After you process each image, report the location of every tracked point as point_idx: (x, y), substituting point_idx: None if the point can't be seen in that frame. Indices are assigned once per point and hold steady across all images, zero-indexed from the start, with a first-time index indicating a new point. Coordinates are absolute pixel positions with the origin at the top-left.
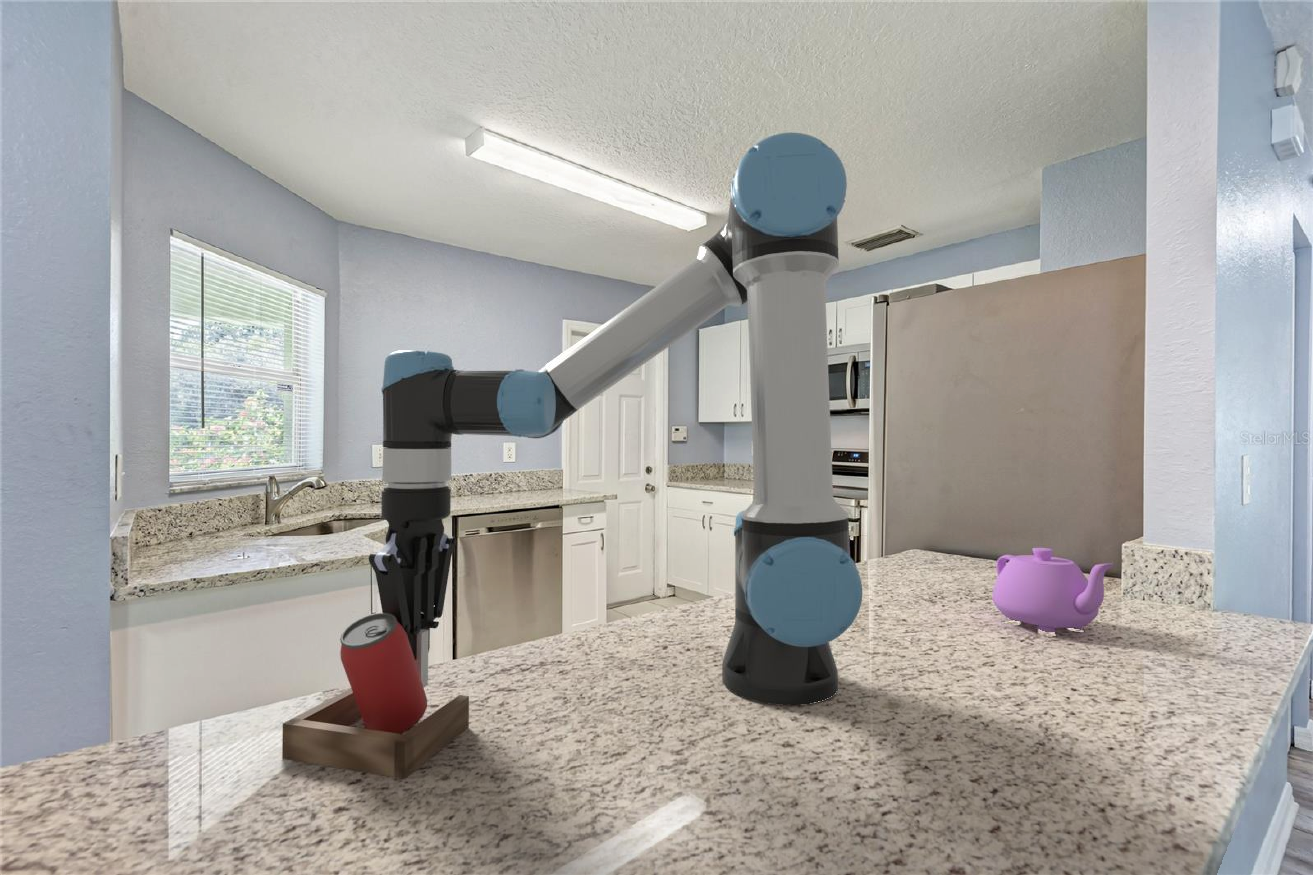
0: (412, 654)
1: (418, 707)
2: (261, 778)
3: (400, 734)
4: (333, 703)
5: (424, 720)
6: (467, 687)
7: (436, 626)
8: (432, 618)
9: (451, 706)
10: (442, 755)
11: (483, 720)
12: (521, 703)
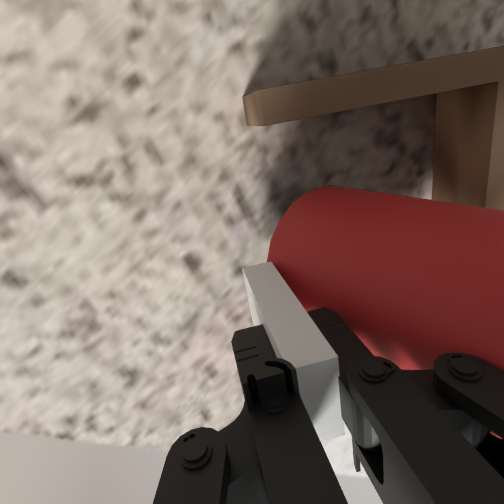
0: (436, 255)
1: (341, 190)
2: None
3: (500, 86)
4: None
5: (426, 90)
6: (68, 277)
7: (258, 366)
8: (262, 421)
9: (336, 85)
10: (366, 56)
11: (192, 90)
12: (47, 57)
